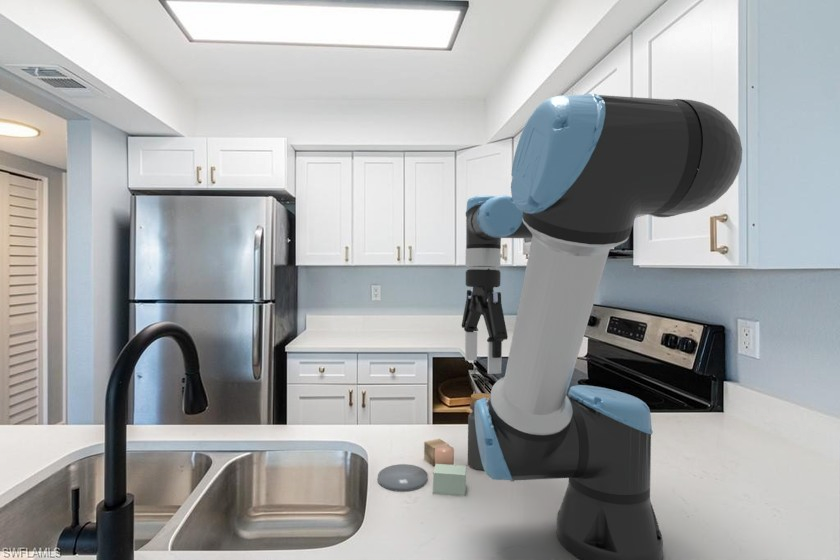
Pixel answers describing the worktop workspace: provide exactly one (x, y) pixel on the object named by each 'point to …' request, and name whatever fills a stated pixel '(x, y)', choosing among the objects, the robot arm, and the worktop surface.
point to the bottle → (474, 435)
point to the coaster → (402, 477)
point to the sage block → (449, 479)
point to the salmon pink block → (444, 455)
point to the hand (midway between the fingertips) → (481, 366)
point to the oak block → (432, 450)
